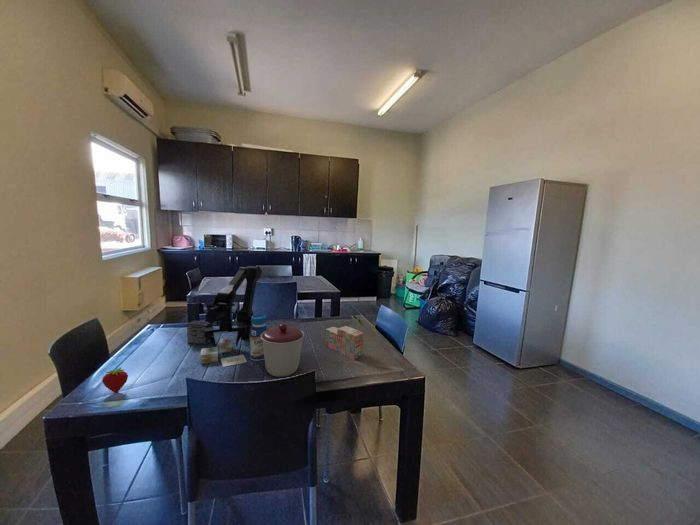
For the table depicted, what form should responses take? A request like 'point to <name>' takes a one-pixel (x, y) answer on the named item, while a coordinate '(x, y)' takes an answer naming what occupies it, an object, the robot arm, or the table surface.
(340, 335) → the stack of blocks
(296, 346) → the canister
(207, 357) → the tower base
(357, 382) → the table surface
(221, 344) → the beige cube
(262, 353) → the beverage bottle
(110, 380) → the strawberry
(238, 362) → the page
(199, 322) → the small box
